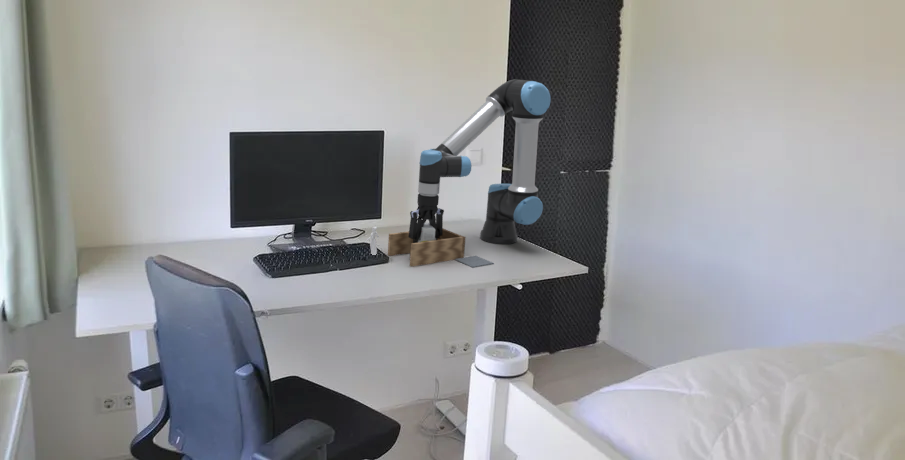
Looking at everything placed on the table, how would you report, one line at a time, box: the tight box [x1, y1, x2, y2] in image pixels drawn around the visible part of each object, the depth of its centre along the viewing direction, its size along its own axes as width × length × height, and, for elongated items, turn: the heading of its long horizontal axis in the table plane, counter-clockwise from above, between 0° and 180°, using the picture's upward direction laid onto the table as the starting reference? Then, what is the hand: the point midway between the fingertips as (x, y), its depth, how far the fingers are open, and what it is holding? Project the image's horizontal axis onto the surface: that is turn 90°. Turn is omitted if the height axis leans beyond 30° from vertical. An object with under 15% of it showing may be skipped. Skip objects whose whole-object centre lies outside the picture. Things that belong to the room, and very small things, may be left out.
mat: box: [454, 255, 494, 269], centre depth 258 cm, size 10×10×1 cm
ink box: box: [419, 222, 435, 242], centre depth 258 cm, size 9×5×12 cm, turn 18°
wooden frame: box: [387, 228, 466, 267], centre depth 259 cm, size 24×15×8 cm, turn 129°
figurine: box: [364, 225, 380, 255], centre depth 252 cm, size 9×9×12 cm
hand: (424, 255), depth 259 cm, fingers closed on ink box, 6 cm apart
